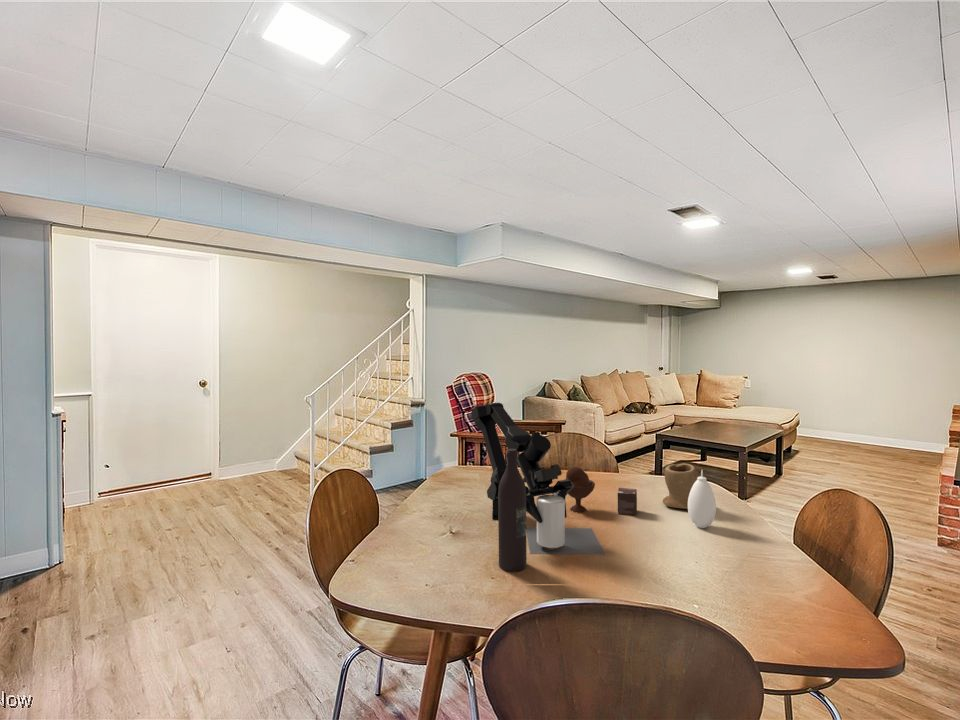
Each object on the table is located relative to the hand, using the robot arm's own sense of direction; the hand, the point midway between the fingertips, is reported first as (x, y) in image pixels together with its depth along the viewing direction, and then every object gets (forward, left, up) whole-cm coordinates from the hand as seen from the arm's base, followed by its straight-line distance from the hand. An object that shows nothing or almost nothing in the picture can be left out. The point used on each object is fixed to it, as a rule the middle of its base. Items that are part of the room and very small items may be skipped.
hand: (553, 520), depth 131 cm
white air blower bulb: (+47, +17, -9) cm, 51 cm away
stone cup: (+49, +34, -9) cm, 61 cm away
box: (+28, +30, -9) cm, 42 cm away
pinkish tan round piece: (-1, +1, -8) cm, 8 cm away
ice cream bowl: (+12, +32, -9) cm, 36 cm away
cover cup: (-1, +1, -7) cm, 7 cm away
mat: (+3, +6, -8) cm, 11 cm away
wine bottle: (-12, -10, -9) cm, 17 cm away
